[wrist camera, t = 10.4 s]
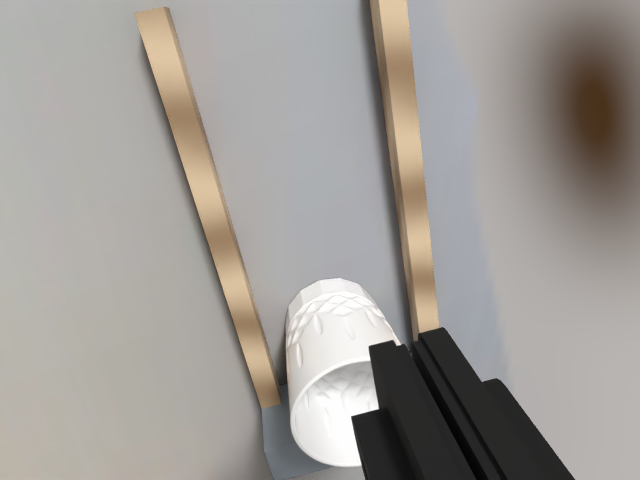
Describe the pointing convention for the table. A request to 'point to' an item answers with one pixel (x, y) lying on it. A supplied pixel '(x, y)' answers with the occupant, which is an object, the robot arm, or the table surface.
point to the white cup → (331, 366)
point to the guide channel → (211, 202)
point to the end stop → (285, 443)
